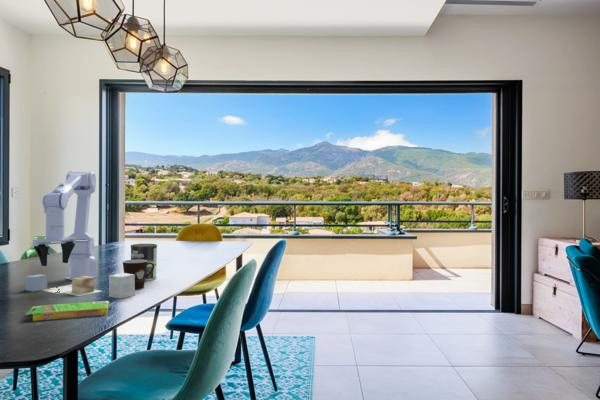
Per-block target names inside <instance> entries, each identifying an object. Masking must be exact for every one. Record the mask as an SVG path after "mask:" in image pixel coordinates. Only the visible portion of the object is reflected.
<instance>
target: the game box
mask: <svg viewBox="0 0 600 400" xmlns="http://www.w3.org/2000/svg"><path fill="white" fill-rule="evenodd" d="M109 307H110V300H100V301H88V302H87V301H86V302H73V303H70V302H69V303H57V304H56V303H55V304H53V303H52V304H44V305H43V304H41V305H35V306H32V307H31V308H30V309H29V310H28V311H27V312H25V315H26V316H27V315H29V316H30V315H32V322H33V321H34V322H35V321H46V320H57V319H59V320H60V318H61V319H70V318H71V319H72V318H82V317H84V316H85V317H92V316H93V317H94V316H95V317H96V316H107V315H108V313H109Z"/></svg>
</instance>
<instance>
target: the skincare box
mask: <svg viewBox="0 0 600 400" xmlns="http://www.w3.org/2000/svg"><path fill="white" fill-rule="evenodd" d="M135 292H136V290H135V275H134V274H127V273H124V272H121V273H116V274H110V275H108V297H109V298H114V299H115V298H116V299H124V298H129V297H133V296H135V295H136V293H135Z"/></svg>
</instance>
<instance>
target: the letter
mask: <svg viewBox="0 0 600 400" xmlns="http://www.w3.org/2000/svg"><path fill="white" fill-rule="evenodd" d="M57 287H58V288H56V287H50V288H47V289H45V290H42V291H44V292H49V293H53V294H64V293H65V292H70V291H72V284H67V285H61V286H57ZM58 289H60V290H59V291H60V293H55V292H57V291H58ZM59 291H58V292H59Z"/></svg>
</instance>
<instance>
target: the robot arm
mask: <svg viewBox="0 0 600 400" xmlns="http://www.w3.org/2000/svg"><path fill="white" fill-rule="evenodd" d="M65 176H66V177H65V182H61V183H59V185H57V186H56V187H55V188H54V189H53V190H52V191H51V192H47V193H45V194H44V195H43V197H42V202H41V203H42V206H43V213H44V214H45V238H41V239H32V242H31V243H32V244H31V246H33V249H34V250H35V252H36V254H37V256H38V258H39V261H40V266H41V267H47V266H48V252H49V248H50V247H49V245H58V244H60V247H61V253H62V254H61V255H62V256H61V257H62V261H61V262H62V264H63V263H64V264H68V263H69V276H67V277H64V279H65V280H70V281H72V278H76V277H82V276H89V277H94V279H95V278H98V275H97V259H96V258H95V257H94V255H93V254H94V253H95V252H94V251H95V239H94V237H93V236H92V235H91V234H89V233H88V228H89V227H88V226H89V218H90V205H91V198H92V194H94V193H95V191H96V186H97V185H96V184H97V179H96V174H95V173H94V171H71V170H69V171H68V172H67V173H66V175H65ZM73 194H76V196H77V199H76V208H75V219H74V228H73V233H71V234H70V235H69V236H67V237H65V209H66V208H67V207H68V203H69V200H70V198H71V197H72V196H73Z"/></svg>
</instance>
